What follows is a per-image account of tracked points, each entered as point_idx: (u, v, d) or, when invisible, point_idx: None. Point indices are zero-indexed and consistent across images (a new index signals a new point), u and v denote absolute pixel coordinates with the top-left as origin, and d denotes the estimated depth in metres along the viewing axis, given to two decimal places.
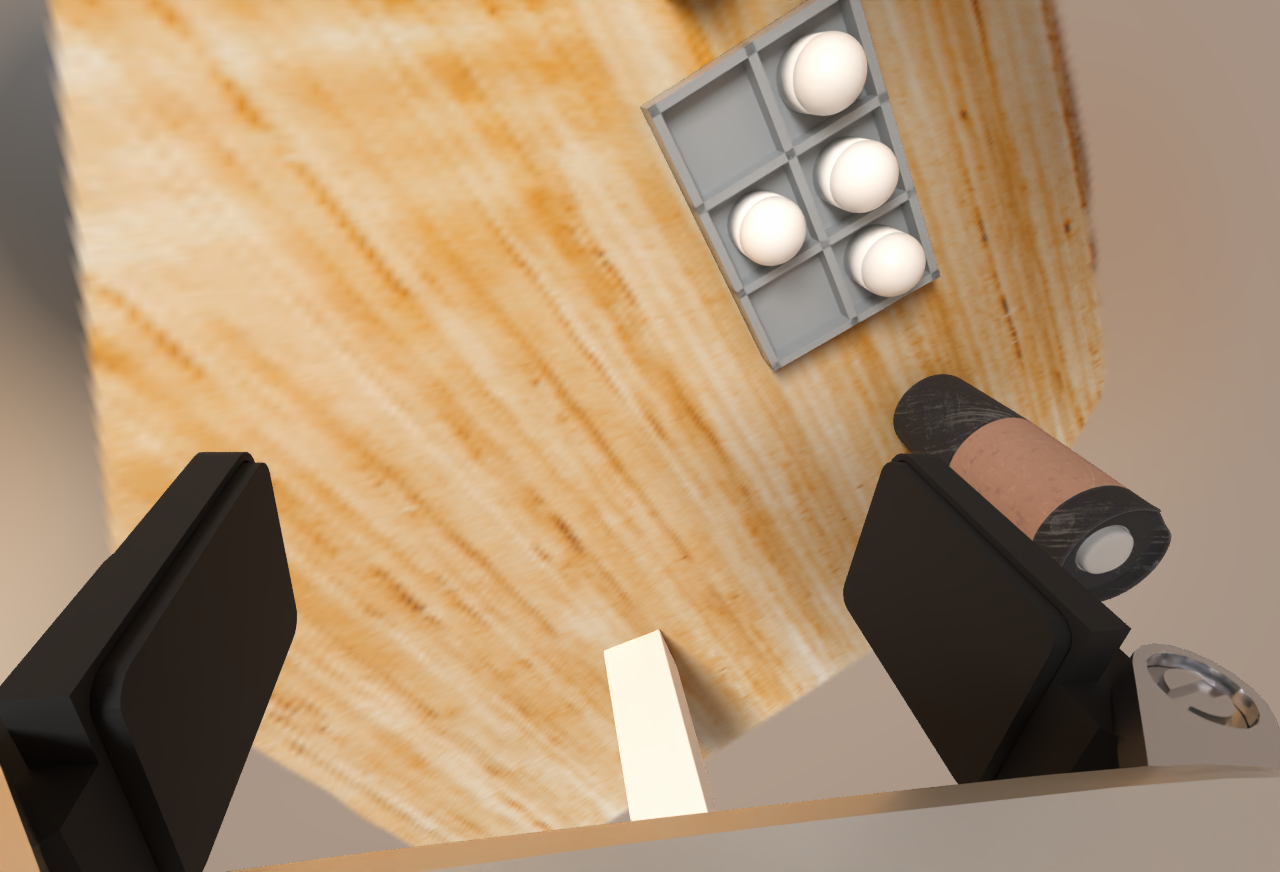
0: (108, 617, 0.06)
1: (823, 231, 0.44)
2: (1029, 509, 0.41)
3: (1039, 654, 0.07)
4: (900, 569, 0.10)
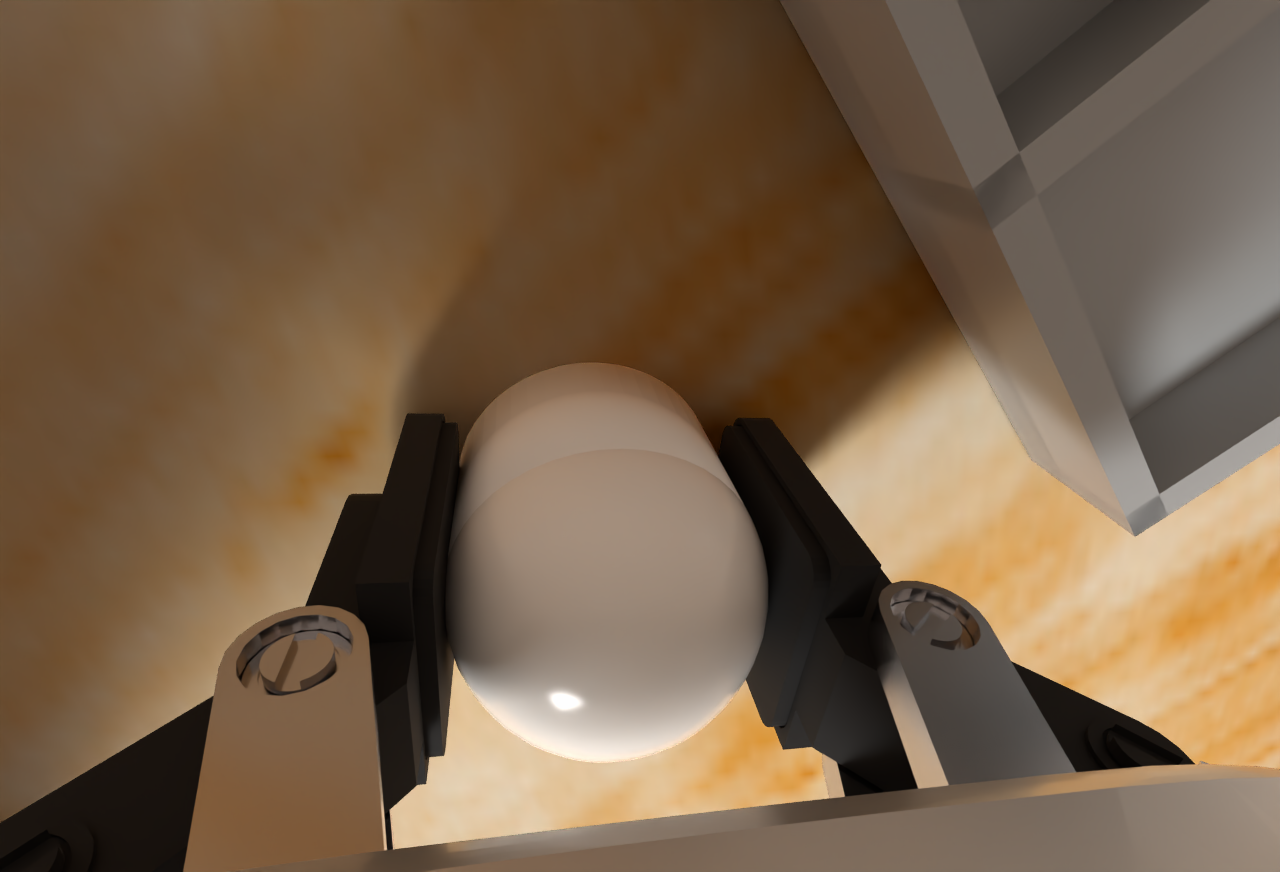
0: (406, 531, 0.07)
1: None
2: None
3: (806, 592, 0.08)
4: None
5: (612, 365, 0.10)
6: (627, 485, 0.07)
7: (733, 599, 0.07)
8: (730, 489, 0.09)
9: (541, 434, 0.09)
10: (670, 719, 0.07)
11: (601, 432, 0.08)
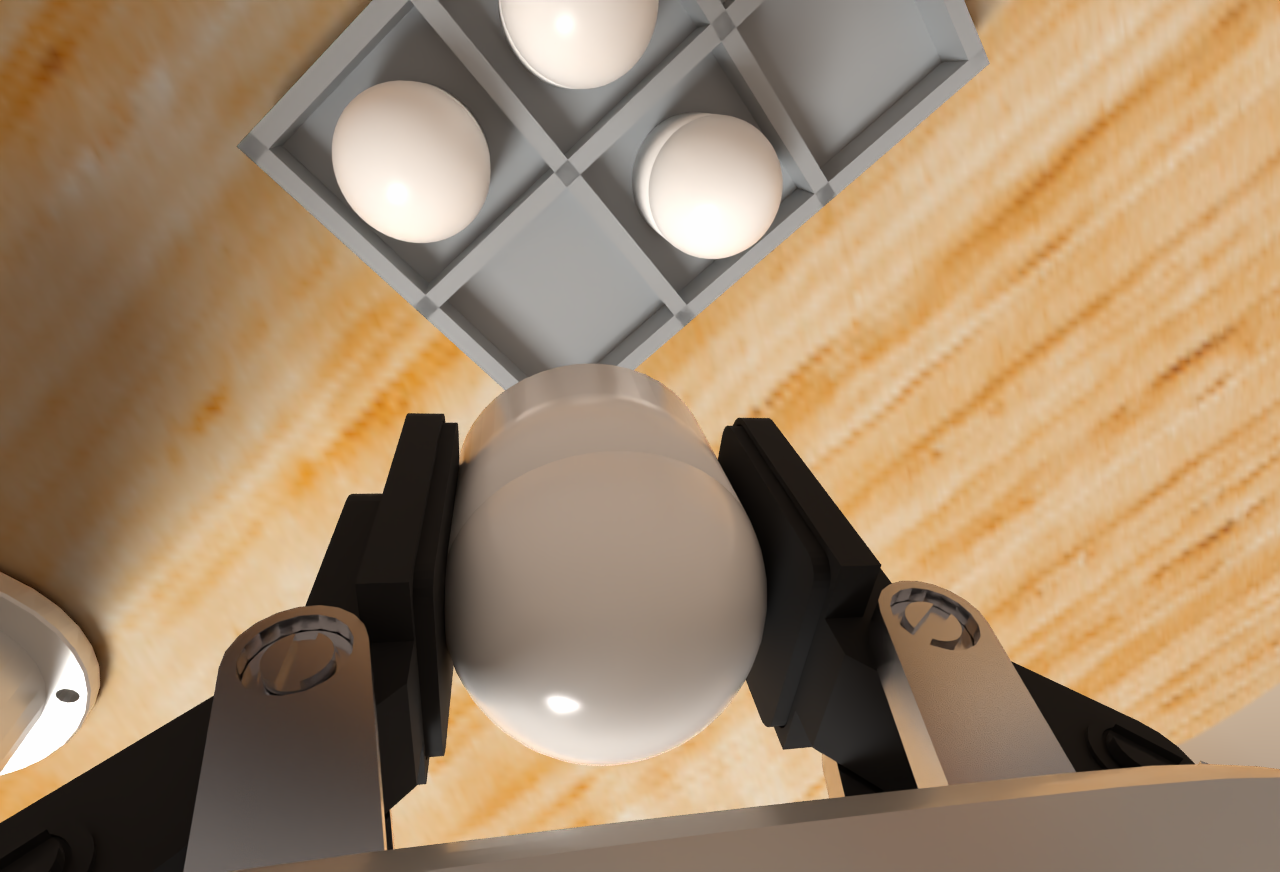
0: (406, 530, 0.07)
1: (698, 40, 0.20)
2: None
3: (806, 591, 0.08)
4: None
5: (610, 367, 0.10)
6: (625, 487, 0.07)
7: (732, 601, 0.07)
8: (728, 491, 0.09)
9: (538, 436, 0.09)
10: (668, 722, 0.07)
11: (599, 434, 0.08)
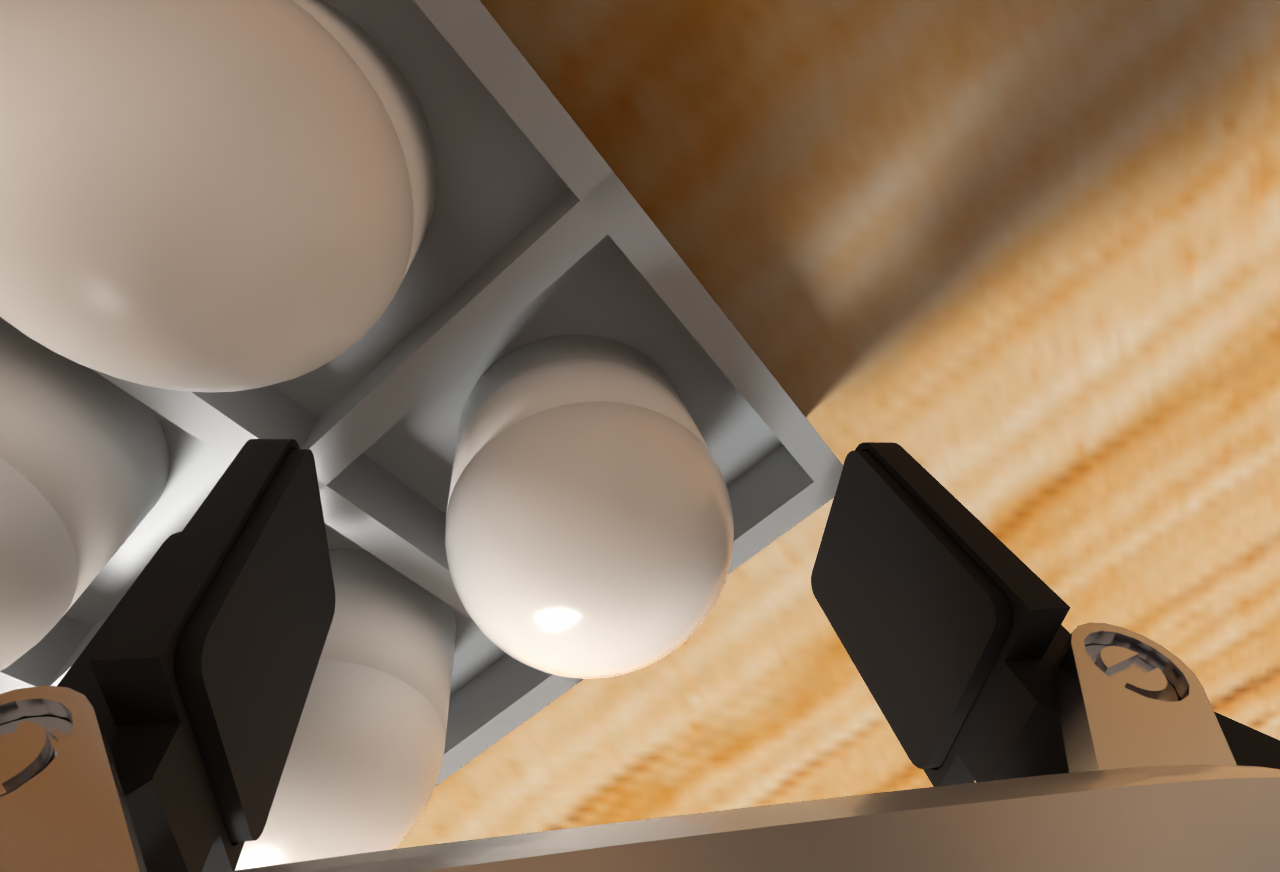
0: (184, 588, 0.06)
1: None
2: None
3: (983, 633, 0.07)
4: (862, 555, 0.10)
5: (596, 337, 0.11)
6: (605, 430, 0.09)
7: (698, 527, 0.09)
8: (699, 439, 0.10)
9: (531, 391, 0.10)
10: (644, 632, 0.08)
11: (584, 389, 0.09)
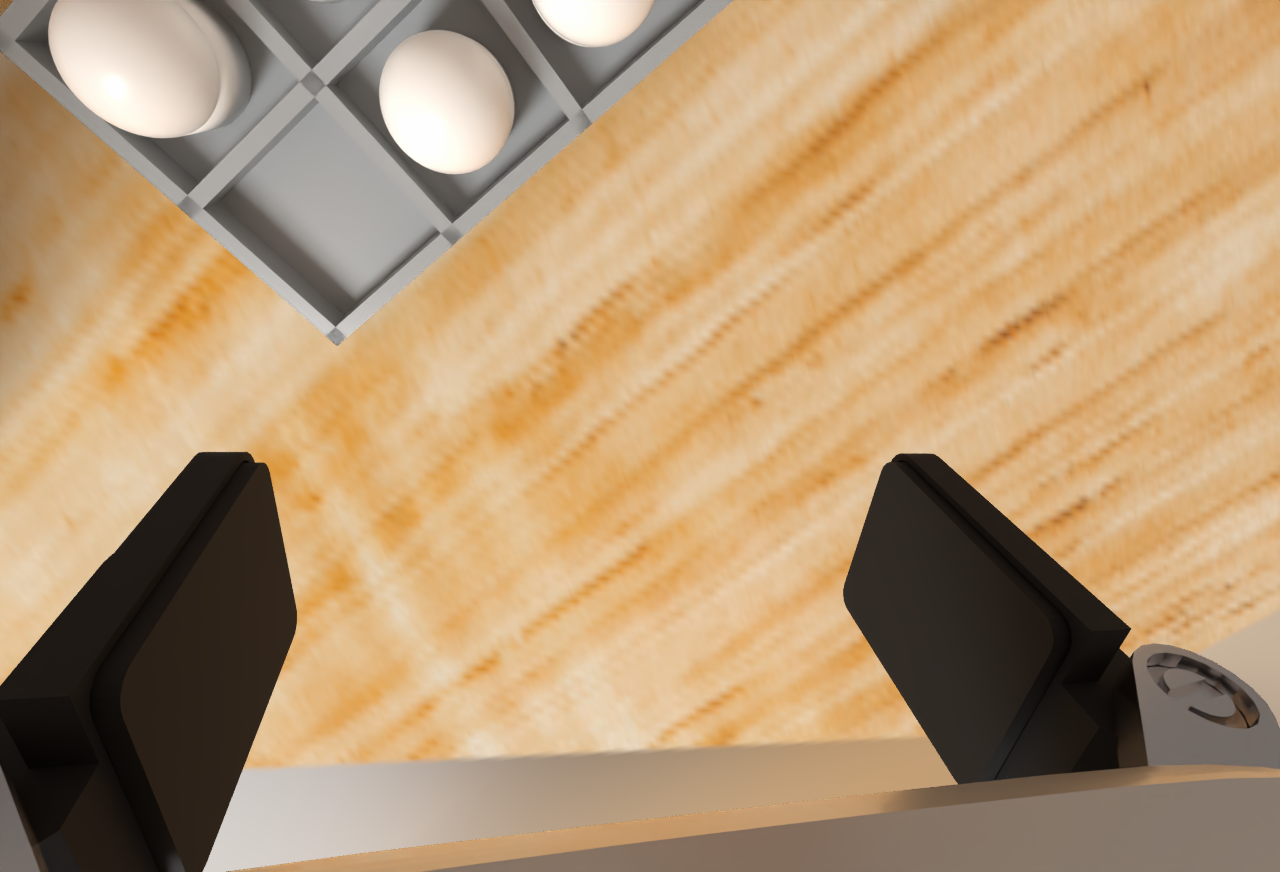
0: (108, 617, 0.06)
1: None
2: None
3: (1039, 654, 0.07)
4: (900, 569, 0.10)
5: None
6: None
7: None
8: None
9: None
10: None
11: None
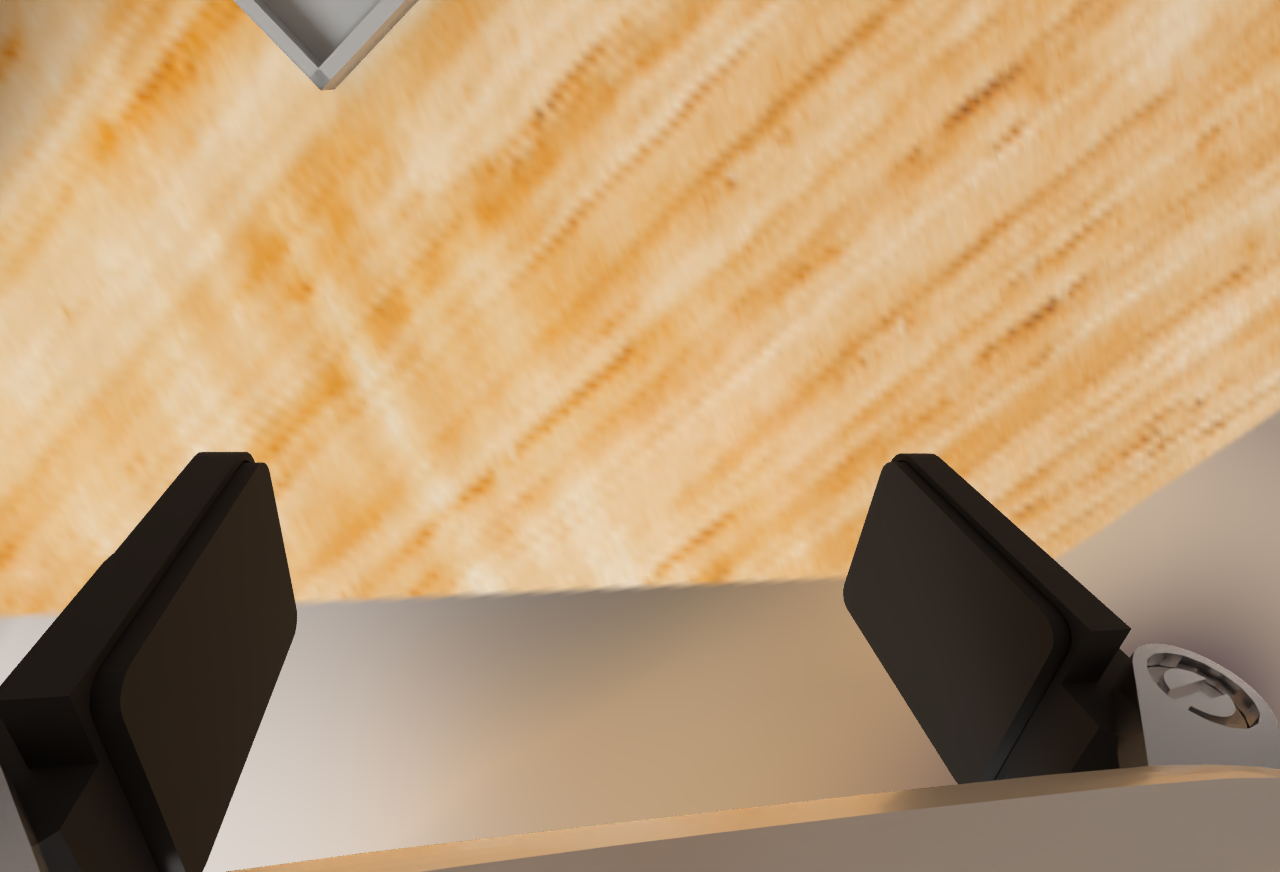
0: (108, 617, 0.06)
1: None
2: None
3: (1039, 654, 0.07)
4: (900, 569, 0.10)
5: None
6: None
7: None
8: None
9: None
10: None
11: None
